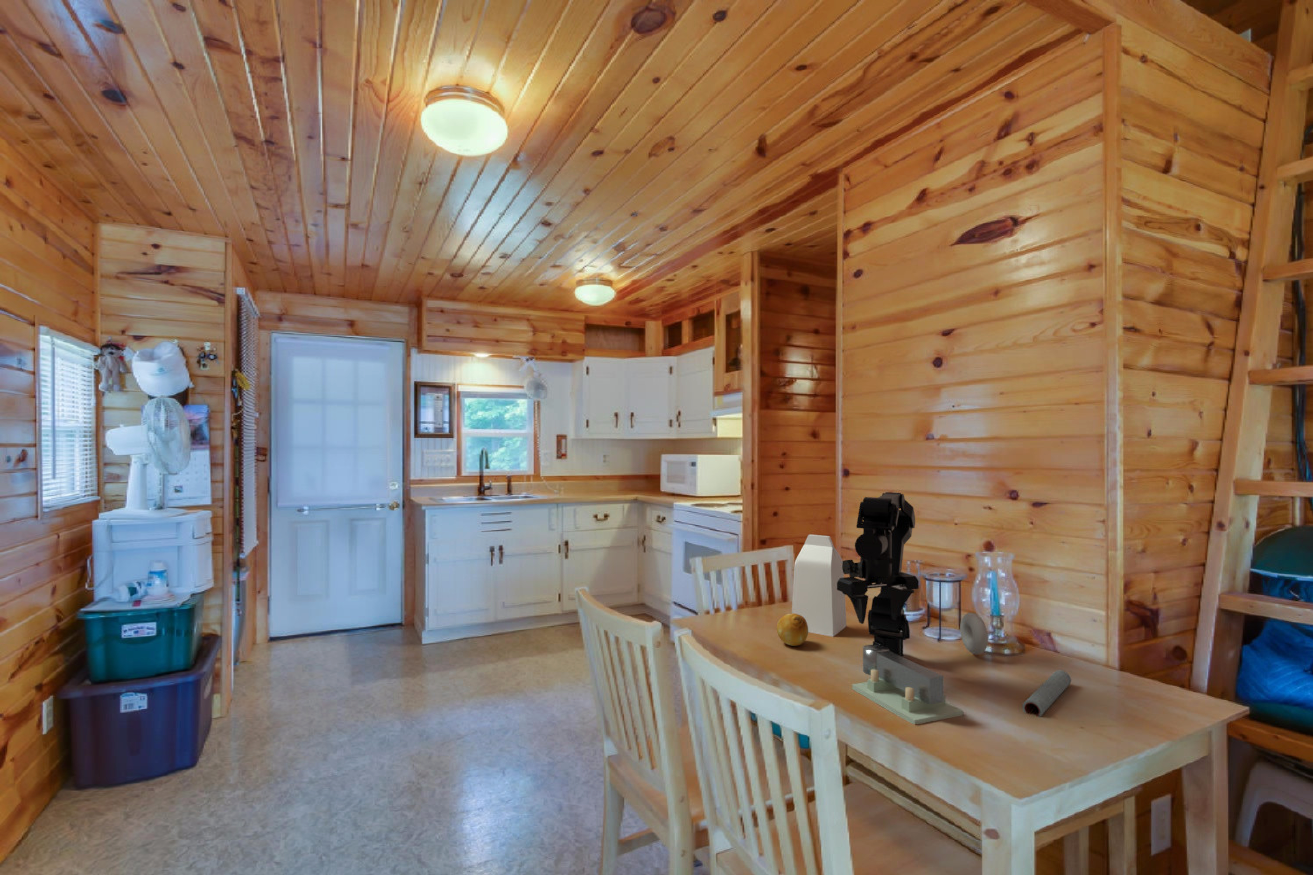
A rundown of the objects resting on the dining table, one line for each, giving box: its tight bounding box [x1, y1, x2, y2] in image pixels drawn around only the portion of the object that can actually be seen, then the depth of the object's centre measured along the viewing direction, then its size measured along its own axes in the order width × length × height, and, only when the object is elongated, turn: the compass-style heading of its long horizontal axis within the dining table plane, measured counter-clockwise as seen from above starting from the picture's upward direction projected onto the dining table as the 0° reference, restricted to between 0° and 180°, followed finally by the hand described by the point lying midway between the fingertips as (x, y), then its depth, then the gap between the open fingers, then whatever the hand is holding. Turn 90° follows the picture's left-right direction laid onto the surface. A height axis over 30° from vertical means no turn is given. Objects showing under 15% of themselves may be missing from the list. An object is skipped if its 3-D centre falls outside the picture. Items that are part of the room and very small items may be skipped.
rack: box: [851, 669, 964, 725], centre depth 127 cm, size 12×18×5 cm, turn 21°
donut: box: [959, 612, 989, 655], centre depth 155 cm, size 10×4×10 cm, turn 178°
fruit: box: [776, 612, 809, 647], centre depth 162 cm, size 8×8×8 cm
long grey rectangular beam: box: [862, 644, 944, 704], centre depth 128 cm, size 5×20×5 cm, turn 21°
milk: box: [791, 534, 848, 638], centre depth 176 cm, size 12×12×26 cm
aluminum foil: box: [1022, 669, 1072, 718], centre depth 127 cm, size 23×7×3 cm, turn 134°
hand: (877, 621), depth 142 cm, fingers open, 9 cm apart
